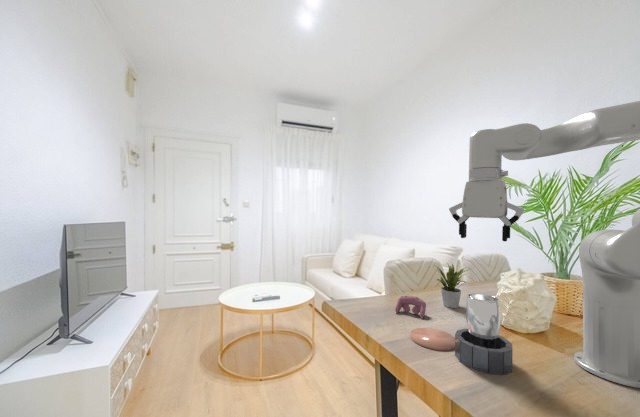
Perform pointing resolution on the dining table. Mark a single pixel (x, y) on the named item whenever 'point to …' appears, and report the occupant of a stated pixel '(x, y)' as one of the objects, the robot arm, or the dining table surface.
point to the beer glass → (483, 319)
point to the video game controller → (411, 300)
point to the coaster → (433, 339)
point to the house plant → (451, 287)
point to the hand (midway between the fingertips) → (483, 239)
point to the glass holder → (484, 355)
